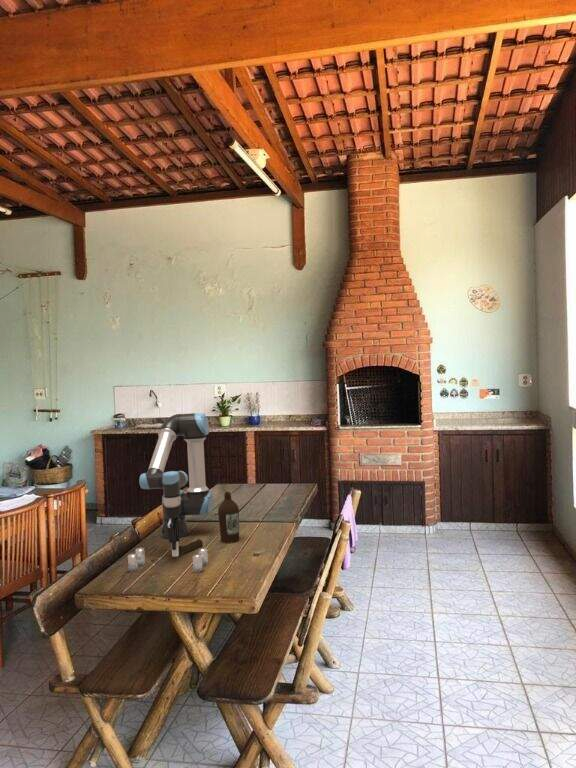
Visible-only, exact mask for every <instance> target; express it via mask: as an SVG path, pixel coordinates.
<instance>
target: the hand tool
mask: <svg viewBox="0 0 576 768" xmlns="http://www.w3.org/2000/svg"><path fill="white" fill-rule="evenodd" d="M203 546H204V544H203V540H202V539H196V540H195V541H192V542H188V544H185V545H178V549H179V557H182V556H184V554H186V553H188V552H190V551H191V552H192V551H193V550H196V549H199V548H203ZM181 555H182V556H181ZM179 557H178V556H172V558H179Z"/></svg>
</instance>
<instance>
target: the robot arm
mask: <svg viewBox="0 0 576 768" xmlns="http://www.w3.org/2000/svg"><path fill="white" fill-rule="evenodd" d="M209 433H210V425H209V420H208V418H207V416H206V414H205V413H201V412H200V413H199V412H195V413H193V412H192V413H176V414H173V415H171V416H170V417H168V418H167V419H166V420H165V421H163V423H162V424H161V425H160V427H159V430H158V433H157V435H158V439H157V442H156V445H155V448H154V451H153V454H152V457H151V459H150V463H149V467H148V469H147V472H144V473H141V474H140V476H139V480H138V483H139V486H140V488H141V489H142V490H155V489H156V490H158V489H162V490H163V495H162V497H161V499H162V500H161V504H162V517H163V520H162V521H163V522H162V524H161V530H160V537H161V538H162V539H167V540H168V542H169V543H168V544H171V556H172V557H173V556H179V549H178V546H179V542H180V541H181V539H180V538H185V537H187V536H189V535H190V527H189V525H188V522H187V519H186V516H205V515H206V516H207V515H209V514H210V513H211V511H212V508H213V502H214V500H213V499H214V497H213V496H214V495H213V493H212V492H211V491H210V489H209V487H208V486H207V485H206V467H205V465H206V464H205V448H204V446H205V445H204V441H205V440H206V439H207V435H209ZM181 436H182V437H183V440H184V441H185V442H186V444H187V462H188V463H187V465H188V466H187V467H188V474H187V473H186V471H185V472H184V471H183V470H178V471H175V470H170V471H165V468H166V464H167V462H168V458H169V455H170V453H171V449H172V446H173V442H174V441H176V440H177V437H181ZM164 471H165V472H164ZM187 483H189V487H188V488H187V489H186V492H185V491H184V490H183V489H182V488H183V487H185V486H186V484H187ZM179 557H180V556H179Z"/></svg>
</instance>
